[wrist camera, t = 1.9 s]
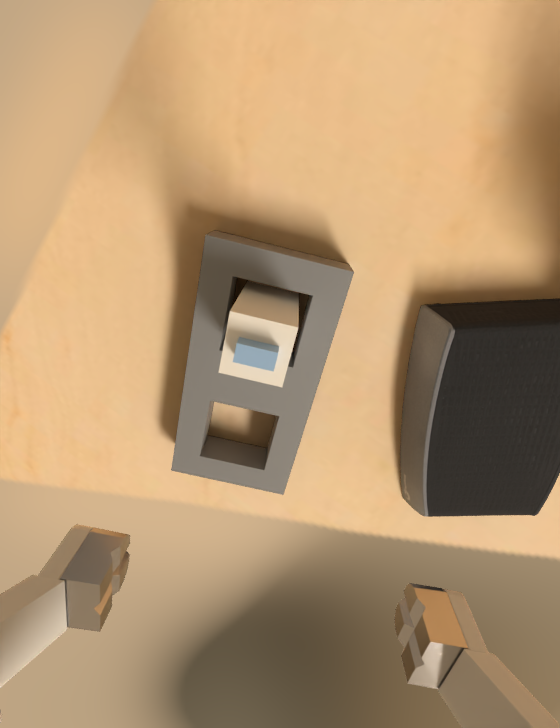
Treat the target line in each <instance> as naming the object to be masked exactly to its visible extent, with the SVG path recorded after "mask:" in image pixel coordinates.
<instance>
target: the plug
mask: <svg viewBox="0 0 560 728" xmlns="http://www.w3.org/2000/svg"><path fill="white" fill-rule="evenodd" d="M298 326H299V293H296V292H292V291H288V290H283V289H279V288H275V287H271V286H267V285H263V284H259V283H255V282H251V281H247V283H246V284H245V286H244V288H243V290H242V291H241V293H240V295H239V296H238V298H237V300H236V302H235V303H234V305H233V307H232V308H231V310H230V314H229V319H228V324H227V330H226V335H225V340H224V346H223V351H222V356H221V362H220V367H219V372H218V373H222V374H227V375H231V376H235V377H239V378H244V379H248V380H252V381H257V382H261V383H265V384H270V385H274V386H278V387H282V386H283V383H284V379H285V375H286V372H287V368H288V364H289V361H290V357H291V353H292V350H293V346H294V342H295V339H296V335H297V331H298Z"/></svg>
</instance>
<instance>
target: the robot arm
mask: <svg viewBox="0 0 560 728" xmlns="http://www.w3.org/2000/svg"><path fill="white" fill-rule="evenodd" d="M129 544H130V535H128V534H123V533H118V532H113V531H109V530H104V529H99V528H94V527H88V526H83V525H78V524H77V525H75V526H74V527H73V528H71V529H70V531H69V532H68V534H67V535H66V536H65V538H64V539H63V541H62V542H61V544H60V545H59V547H58V548H57V549H56V551H55V552H54V553H53V555H52V556H51V558H50V559H49V561H48V562H47V563H46V565H45V566H44V568H43V569H42V570H41V572H40V574H39V575H38V576H36V575H31V576H30V577H28V578H26V579H25V580H23V581H21V582H20V583H18V584H16V585H15V586H13V587H11V588H10V589H8V590H7V591H5V592H3V593H1V594H0V687H2V686H3V685H4V684H5V683H6V682H7V681H8V680H10V679H11V678H12V677H13V676H14V675H15V674H16V673H18V672H19V671H20V670H21V669H22V668H23V667H25V666H26V665H27V664H28V663H29V662H30V661H32V660H33V659H34V658H35V657H36V656H37V655H38V654H40V653H41V652H42V651H43V650H44V649H45V648H46V647H48V646H49V645H50V644H51V643H52V642H53V641H54V640H56V639H57V638H58V637H59V636H60V635H61V634H63V633H64V632H65V631H66V630H67V627H69V628H77V629H84V630H92V631H99V632H100V631H101V629H102V626H103V624H104V622H105V620H106V618H107V616H108V614H109V612H110V609H111V607H112V595H114V594H115V593H117V592H118V591H119V590H120V588H121V586H122V583H123V581H124V578H125V575H126V572H127V569H128V564H129V554H128V552H127V551H126V550H127V548H128V546H129ZM404 595H405V598H404V599H402V600H400V601H399V602H398V605H397V607H396V609H395V619H394V620H395V630H396V635H397V638H398V640H399V641H400V642H401V644H402V645H403V646H404V650H403V653H402V655H401V657H402V661H403V666H404V670H405V674H406V679H407V683H409V684H414V685H420V686H424V687H429V688H434V689H439V690H438V692H439V694H440V695H441V697H442V698H443V700H444V701H445V703H446V704H447V706H448V707H449V709H450V710H451V712H452V713H453V715H454V717H455V718H456V720H457V721H458V723H459V724H460V726H461V727H462V728H560V724H559V723H558V722H557V721H556V720H555V719H554V718H553V717H552V716H551V715H550V713H549V712H548V711H547V710H546V709H545V708H544V707H543V706H542V705H541V704H540V703H539V702H538V701H537V699H536V698H535V697H534V696H532V694H531V693H530V692H529V691H528V690H527V689H526V688H525V687H524V686H523V685H522V683H520V681H519V680H518V679H517V678H516V677H515V676H514V675H513V674H512V673H511V672H510V671H509V670H508V668H507V667H506V666H505V665H504V664H503V663H502V662H501V661H500V660H499V659H498V658H497V657H496V656H495V655H494V654H492V653H488V650H487V648H486V646H485V644H484V641H483V639H482V636H481V634H480V632H479V629H478V627H477V625H476V622H475V620H474V618H473V615H472V613H471V611H470V608H469V606H468V604H467V602H466V599H465V597H464V595H463V594H462V593H461V592H457V591H451V590H446V589H442V588H437V587H430V586H423V585H418V584H411V583H409V584H408V585H406V587H405V590H404ZM1 720H2V718H1V712H0V722H1Z"/></svg>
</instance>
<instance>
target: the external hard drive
mask: <svg viewBox="0 0 560 728" xmlns="http://www.w3.org/2000/svg"><path fill="white" fill-rule="evenodd" d="M400 467H401V487H402V496H403V498H404V500H405V501H406V502H407V503H408V504H409V505H410V506H411V507H412V508H413V509H414V510H416V511H417V512H418V513H420V514H421V515H423V516H430V517H431V516H482V515H532V516H535V515H537V514H538V513H539V511H540V510H541V508H542V507H543V505H544V503H545V501H546V500H547V498H548V496H549V494H550V492H551V490H552V488H553V486H554V484H555V482H556V480H557V478H558V476H559V473H560V299H542V300H519V301H497V302H476V303H454V304H433V305H422V306H421V307H420V311H419V315H418V319H417V323H416V327H415V332H414V337H413V343H412V347H411V353H410V359H409V364H408V371H407V378H406V385H405V392H404V402H403V411H402V424H401V446H400Z"/></svg>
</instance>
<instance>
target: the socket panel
mask: <svg viewBox="0 0 560 728" xmlns="http://www.w3.org/2000/svg"><path fill="white" fill-rule="evenodd" d="M353 274H354V271H353V270H352V268H351V267H350V265H349V264H347V263H343V262H339V261H335V260H331V259H327V258H323V257H319V256H315V255H311V254H307V253H303V252H299V251H295V250H291V249H287V248H283V247H279V246H275V245H271V244H267V243H263V242H259V241H255V240H252V239H248V238H244V237H240V236H236V235H232V234H228V233H224V232H220V231H216V230H215V231H212V232H210V233H208V234H206V236H205V242H204V249H203V256H202V263H201V270H200V277H199V284H198V291H197V297H196V304H195V311H194V318H193V325H192V332H191V339H190V345H189V352H188V359H187V366H186V373H185V380H184V387H183V394H182V400H181V407H180V414H179V421H178V428H177V435H176V442H175V448H174V455H173V462H172V469H171V470H172V471H176V472H181V473H185V474H190V475H195V476H199V477H204V478H208V479H213V480H218V481H222V482H227V483H232V484H236V485H241V486H245V487H250V488H255V489H259V490H264V491H269V492H273V493H278V494H282V495H283V494H284V491H285V488H286V485H287V482H288V479H289V475H290V472H291V469H292V466H293V463H294V460H295V457H296V453H297V450H298V447H299V444H300V441H301V438H302V434H303V431H304V428H305V425H306V422H307V419H308V416H309V412H310V409H311V406H312V403H313V400H314V397H315V393H316V390H317V387H318V384H319V381H320V378H321V375H322V371H323V368H324V365H325V362H326V359H327V356H328V353H329V349H330V346H331V343H332V340H333V337H334V334H335V330H336V327H337V324H338V321H339V318H340V315H341V312H342V308H343V305H344V302H345V299H346V296H347V293H348V289H349V286H350V283H351V280H352V277H353ZM237 277H239V278H243V279H247V280H251V281H255V282H259V283H263V284H267V285H271V286H275V287H279V288H283V289H287V290H291V291H295V292H299V293H304V294H308V295H309V298H308V301H307V305H306V309H305V312H304V316H303V320H302V323H301V327H300V331H299V334H298V338H297V342H296V345H295V349H294V352H292V353H291V357H290V361H289V364H288V368H287V372H286V375H285V379H284V383H283V386H282V387H278V386H274V385H270V384H265V383H261V382H257V381H252V380H248V379H244V378H239V377H235V376H231V375H227V374H222V373H218V372H219V367H220V362H221V356H222V351H223V346H224V340H225V335H226V330H227V324H228V319H229V314H230V310H231V308H232V304H233V298H234V293H235V288H236V282H237ZM214 402H219V403H223V404H228V405H232V406H236V407H241V408H245V409H249V410H254V411H258V412H263V413H267V414H271V415H276V418H275V422H274V425H273V429H272V433H271V436H270V440H269V444H268V447H267V448H262V447H258V446H253V445H249V444H244V443H240V442H235V441H231V440H226V439H222V438H217V437H213V436H208V431H209V426H210V421H211V415H212V410H213V405H214Z"/></svg>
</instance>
